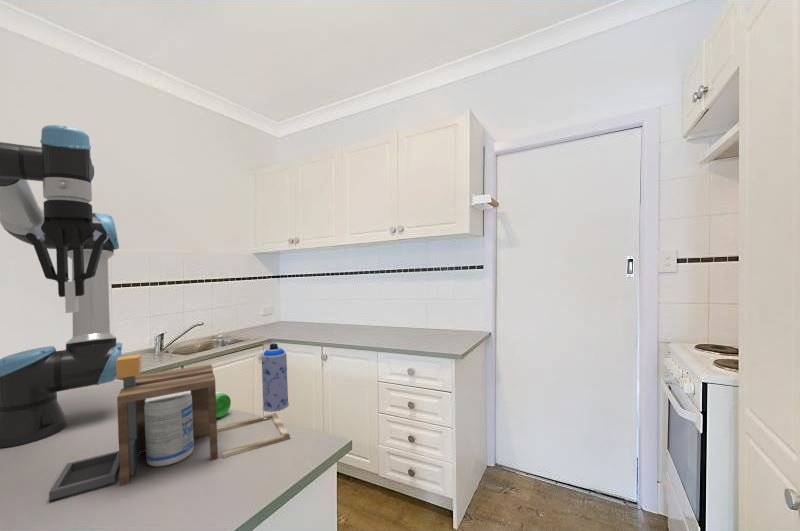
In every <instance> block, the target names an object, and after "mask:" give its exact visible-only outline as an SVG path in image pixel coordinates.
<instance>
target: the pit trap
mask: <svg viewBox="0 0 800 531" xmlns="http://www.w3.org/2000/svg"><path fill="white" fill-rule="evenodd" d="M119 476H120V466H119V450H117V451H112V452H109V453H108V452H107V453H105V454H99V455H96V456H92V457H89V458H83V459H80V460H76V461H71V462H67V463H66V465H65V466H64V468H63V469H62V471H61V473H60V474H59V475H58V477H57V479H56V480H55V482H54V484H53V486H52V487H51V489H50V490H49V492H48V496H49V497H48V498H49V499H48V500H49V503H53V502H56V501H59V500H63V499H68V498H70V497H74V496H77V495H81V494H85V493H87V492H92V491H95V490H99V489H103V488H106V487H109V486H113V485H116V483H117V480H118V477H119Z"/></svg>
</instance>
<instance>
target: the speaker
mask: <svg viewBox="0 0 800 531" xmlns="http://www.w3.org/2000/svg"><path fill="white" fill-rule="evenodd" d="M231 404H232V401H231V398H230V396H229V395H228V394H226V393H224V392H222V391H216V416H217V419H218V418H222V417H224V416H225V415H226V414H228V412H229V410H230V408H231V406H232V405H231Z"/></svg>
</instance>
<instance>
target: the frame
mask: <svg viewBox="0 0 800 531" xmlns="http://www.w3.org/2000/svg"><path fill="white" fill-rule="evenodd" d="M261 417H263V418H261ZM264 418H267V420H266V419H265V420H263V419H264ZM268 420H272V423H273V424H274V426H275V427H276V429H277V431H278V433H279V434H280V435H277V436H274V437H269V438H266V439H263V440H262V439H261V440H259V441H256V442H252V443H249V444H248V443H247V444H245V445H240V446H237V447H235V448H230V449H227V450H223V451H222V452H221V453H222V454H221V455H222V458H224V459H225V458H227V457H230V456H231V457H232V456H233V455H234V456H235V455H237V454H240V453H245V452H248V451H251V450H255V449H260V448H262V447H263V448H264V447H265V446H270V445H273V444H277V443H280V442H283V441H287V440H290V439H291V435H290V433H289V432H288V430H287V428H286V427H285V425H284V423H283V422H282V420H281V419H280V417H279V416H278V414H277V413H276V412H272V413H269V414H265V415H261V416H258V417H256V416H255V417H253V418H249V419H244V420H240V421H236V422H232V423H228V424H225V425H218V426H217V433H219V432H223V431H227V430H232V429H235V428H239V427H243V426H244V427H245V426H248V425H251V424H255V423H259V422H264V421H268ZM273 420H274V421H273ZM276 421H278V422H276ZM280 422H282V423H280Z"/></svg>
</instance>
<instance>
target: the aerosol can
mask: <svg viewBox="0 0 800 531" xmlns="http://www.w3.org/2000/svg"><path fill="white" fill-rule="evenodd" d="M287 356H288V355H287V353H286V351H285V350H284V349H283V348H281V347H279V346H278V343H270V344H269V348H267V349H266V350H265V351H264V352H263V353H262V356H261V376H262V379H261V380H262V403H263V404H262V405H263V406H262V410H263V411H264V412H268V413H276V412H279V411H283V410H285V409H286V408H288V407H289V404H290V403H289V391H288V388H289V386H288V363H287V362H288V361H287V360H288V358H287Z"/></svg>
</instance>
